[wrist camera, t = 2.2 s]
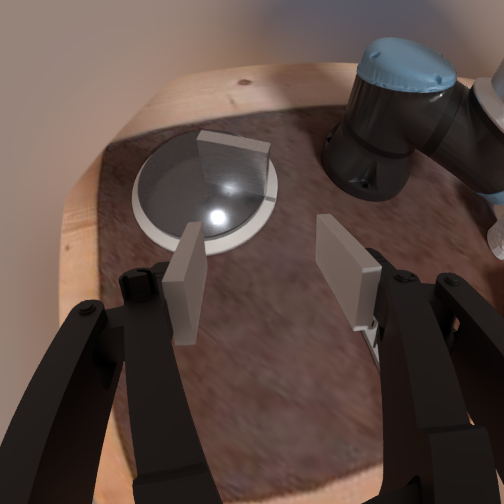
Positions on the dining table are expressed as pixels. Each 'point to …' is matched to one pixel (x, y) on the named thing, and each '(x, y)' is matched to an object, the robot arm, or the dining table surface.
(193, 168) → the dial
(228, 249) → the dial base
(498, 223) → the white cup
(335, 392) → the dining table surface
